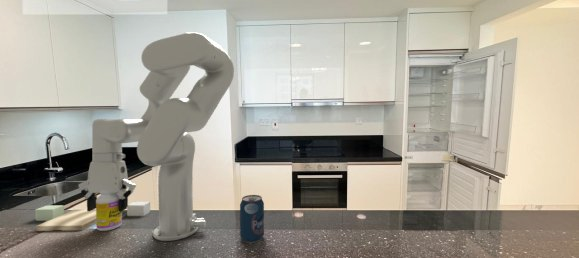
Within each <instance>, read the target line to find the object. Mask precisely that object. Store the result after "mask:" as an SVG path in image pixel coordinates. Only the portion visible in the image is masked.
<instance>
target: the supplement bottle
mask: <svg viewBox="0 0 579 258" xmlns="http://www.w3.org/2000/svg"><path fill="white" fill-rule="evenodd" d="M99 195H100V196H97V199H96V208H95V209H96V223H95V224H96V225H95V226H96V230H97V231H99V232H100V231H101V232H107V231H112V230H114V229H117V228H120V226H122V224H123V211H122V212H119V199H121V198H120V197H119V196H118V195H117V193H108V191H107V190H101V193H99Z"/></svg>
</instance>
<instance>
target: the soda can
mask: <svg viewBox="0 0 579 258" xmlns="http://www.w3.org/2000/svg"><path fill="white" fill-rule="evenodd" d="M264 234H265V203H264V200H263V197H262V195H257V194H249V195H244V196H243V197H242V198H241V201H240V204H239V236H240V237H241V239H242V242H244V243H247V244H248V243H249V244H253V243H257V242H260V241H261V240H262V238H263V237H264Z"/></svg>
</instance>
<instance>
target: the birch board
mask: <svg viewBox="0 0 579 258" xmlns="http://www.w3.org/2000/svg"><path fill="white" fill-rule="evenodd" d="M94 224H96V208H95V209H93V210H91V211H87V208H86V209H82V208H81V209H72V210H69V211H67V212H66V213H65V212H64V214H63V215H61V216H58V217H56V218H54V219H51V220H49V221H45V222H43V223H39V224H38V225H35V231H36V232H46V231H51V232H52V231H53V230H62V231H84V230H85V229H87V228H88V227H91V226H92V225H94ZM83 229H84V230H83Z"/></svg>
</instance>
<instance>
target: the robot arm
mask: <svg viewBox="0 0 579 258" xmlns="http://www.w3.org/2000/svg"><path fill="white" fill-rule="evenodd" d="M140 59H141V62H142V65H143V66H144V68H145V69H147V70H148V71H149V72H148V74H147V75H146V77H145V79H144V80H143V81H142V83H141V84H140V85H139V91H140V93H141V95H142V96H143V97H145V99H147V101H148V106H147V108H146V110H145V112H144V114H143V115H142V116H141V118H118V119H117V118H98V119H94V120H93V121H92V131H91V132H92V134H91V137H92V138H91V139H92V141H91V142H92V148H91V149H92V150H91V151H92V160H91V162H90V163H89V169H88V171H87V172H88V173H87V179H86V180H85V181H83V182H80V183H78V188H79V190H80V191H81V194H82V195H83V196H84V199H86V209H87V211H91V210H93V209H96V199H97V198H98V196H97V194H100V193H101V190H107V191H108V193H117V195H118V196H119V197H120V198H121V199H119V212H122V213H123V211H125V210H127V206H128V205H129V204H128V203H129V197H130V196H131V195H132V194H133V192H134V191H135V189H136V186H137V184H136V183H134V182H132V181H130V180H129V177H128V170H127V169H128V168H127V165H126V161H125V160H123V159H126V154H125V153H123V144H130V143H137V142H138V143H137V147H136V154H137V157H138V159H139V161H141V163H143V164H144V165H145V166H146V165H147V166H149V167H159V171H158V177H157V178H158V185H157V186H158V191H157V192H158V226H157V227H156V228H155V229H153V232H152V234H153V238H154V239H155V240H157V241H162V242H168V241H169V242H171V241H172V242H173V241H177V240H181V239H185V238H188V237H190V236H192V235H193V234H195V233H196V232H197V231H198V230H199V228H206V225H207V220H205V217H201V218H200V217H199V218H198V217H197V213H194V211H193V208H194V207H193V202H194V201H193V200H194V199H193V198H194V197H193V167H194V158H195V153H196V152H195V151H196V142H195V140H194V137H193V136H192V135H191V134H190V133H193V132H199V131H201V130H203V128H205V127H206V125H207V124H208V122H209V120H210V119H211V118H212V115H213V114H214V112H215V111H216V108H218V105H219V104H220V102H221V100H222V98H223V97H224V95H225V94H226V92H227V91H228V90H229V88H230V87H231V84H232V82H233V79H234V75H235V68H234V64H233V61H232V59H231V57H230V55H229V54H228V53H227V51H226V50H225V49H223V48H222V46H221V45H219V44H218V43H217V42H215V41H214V40H212V39H210V38H209V37H207V35H204V34H203V33H199V32H196V31H194V32H186V33H181V34H176V35H173V36H169V37H165V38H161V39H158V40H154V41H153V42H151V43H148V45H146V46H145V48H143V51H142V53H141V58H140ZM191 66H194V67H197V68H199V69H201V70H203V71H204V72H205V73H204V75H203V76H201V77H200V78H199V79H198V80H197V82H195V83H194V85H193V87H192V89H191V91H190V92H189V93H188V95H187V97H185V98H182V97H173V98H171V97H172V96H173V94H174V93H175V92H176V90H177V89H178V88H179V86H180V85H181V83H182V82H183V80H184V79H185V78H186V76H187V75H188V73H189V71H190V69H191ZM127 189H128V190H127Z"/></svg>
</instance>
